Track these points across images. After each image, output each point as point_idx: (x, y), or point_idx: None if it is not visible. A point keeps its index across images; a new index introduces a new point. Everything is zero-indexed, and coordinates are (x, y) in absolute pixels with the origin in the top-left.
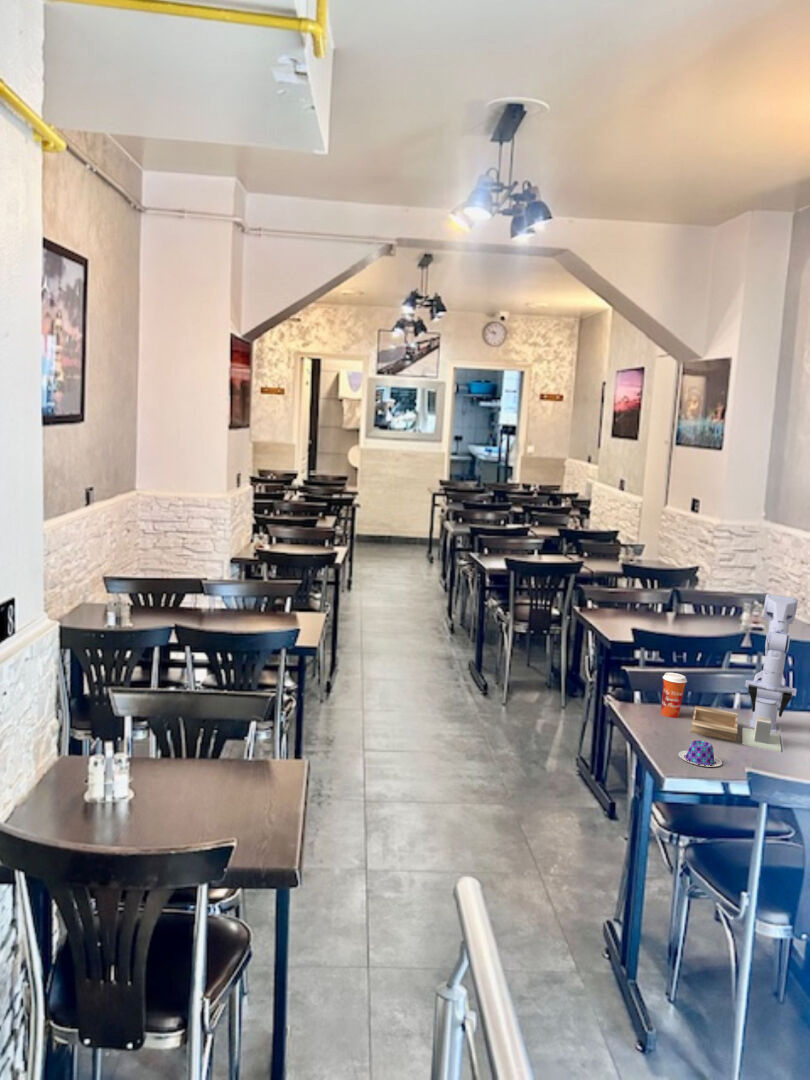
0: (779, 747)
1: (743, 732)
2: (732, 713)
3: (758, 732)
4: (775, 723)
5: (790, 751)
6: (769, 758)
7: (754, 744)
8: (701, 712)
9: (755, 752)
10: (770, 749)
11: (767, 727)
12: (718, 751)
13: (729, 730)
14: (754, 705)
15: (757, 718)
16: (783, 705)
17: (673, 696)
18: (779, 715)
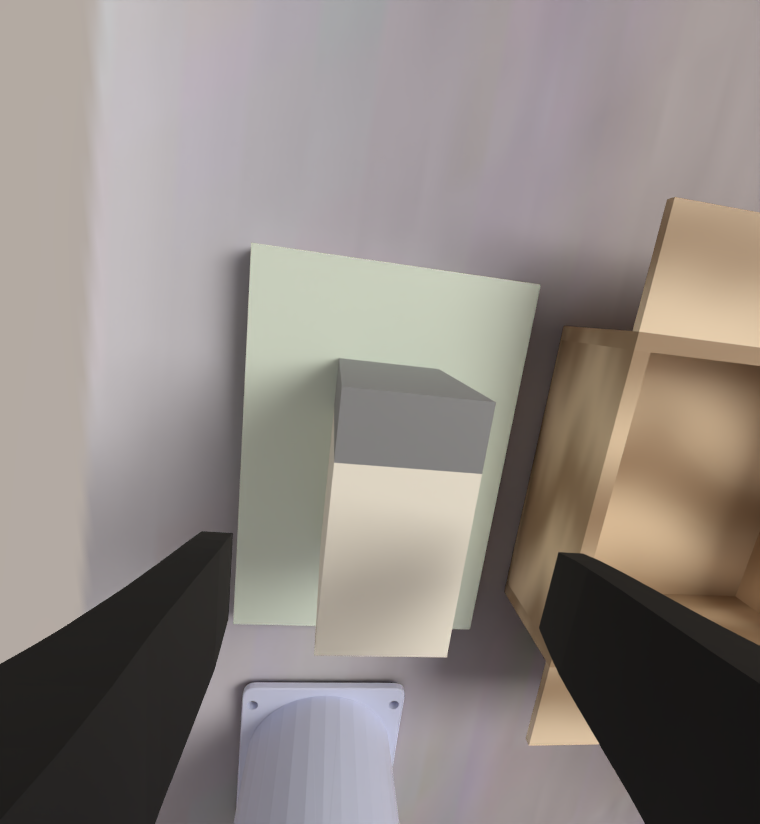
0: (258, 313)
1: (483, 528)
2: (569, 724)
3: (439, 379)
4: (242, 780)
5: (174, 344)
6: (364, 55)
7: (453, 283)
8: None
9: (455, 167)
10: (334, 256)
11: (377, 382)
12: (744, 35)
13: (732, 234)
14: (650, 599)
15: (461, 558)
16: (69, 667)
17: None
18: (222, 536)
